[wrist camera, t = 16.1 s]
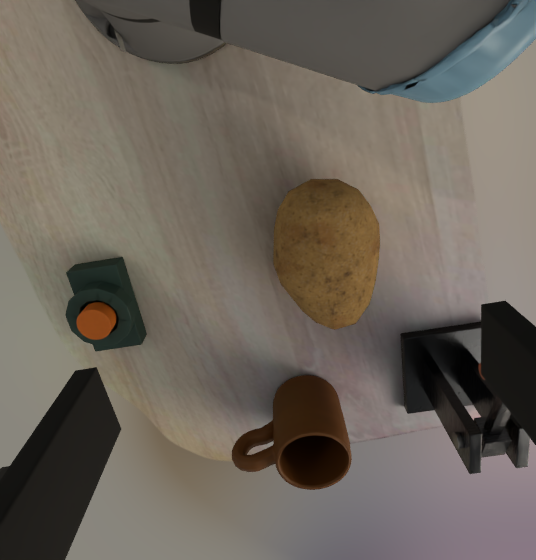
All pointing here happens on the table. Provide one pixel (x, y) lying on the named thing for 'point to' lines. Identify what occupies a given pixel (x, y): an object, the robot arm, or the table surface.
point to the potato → (327, 250)
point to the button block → (106, 301)
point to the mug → (301, 436)
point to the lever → (494, 428)
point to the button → (96, 320)
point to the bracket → (454, 388)
